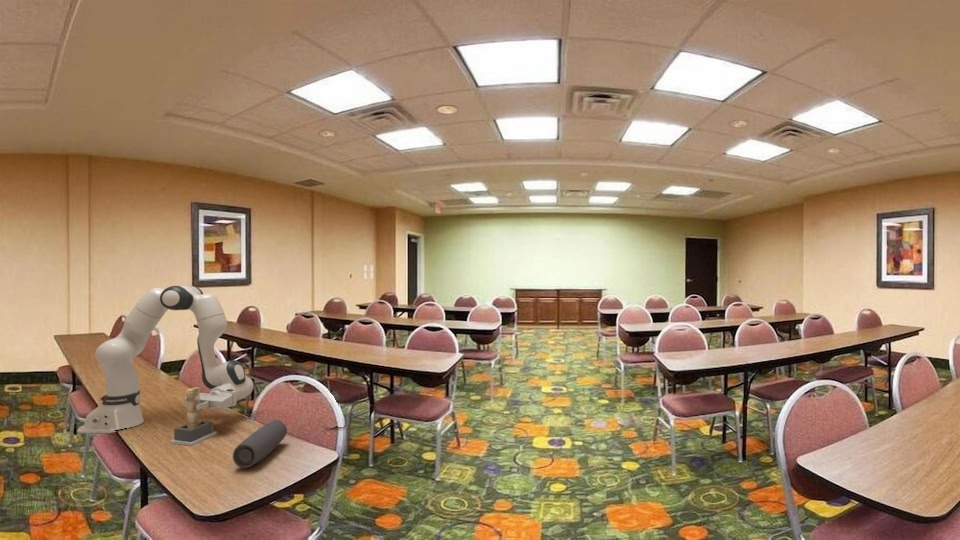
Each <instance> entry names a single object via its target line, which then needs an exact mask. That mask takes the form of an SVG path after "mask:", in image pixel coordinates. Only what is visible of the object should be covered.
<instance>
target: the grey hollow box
mask: <svg viewBox="0 0 960 540" xmlns="http://www.w3.org/2000/svg"><path fill="white" fill-rule="evenodd" d="M213 427H214V425H213V421H212V420H211V421H210V420H202V419H201V425H200V426H198V427H195V428H193V429H187V423H185V424H182V425H180V426H177V427H175V428H174V429H173V436H174V438H173V439H171V440H169V443H170V444H173V445H180V446H181V445H182V446H187V447H188V446H189V447H192V446H194V445H197V444H199V443H200V442H203V441H206V440H207V439H209V438H212V437H214V436H216V435H217V434H218V431H214V428H213Z"/></svg>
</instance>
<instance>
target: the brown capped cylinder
mask: <svg viewBox="0 0 960 540" xmlns="http://www.w3.org/2000/svg"><path fill="white" fill-rule="evenodd" d="M330 387H331V386H330V381H329V380H327V388H328V391H330V393H331V394H332V395H333V396H334V398H335V400H336V402H337V403H338V406H339V404H340V400H341V399H340V396H339V395H340V394H339V393H337V391H334V390H331V389H330Z"/></svg>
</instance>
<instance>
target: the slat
mask: <svg viewBox="0 0 960 540" xmlns="http://www.w3.org/2000/svg"><path fill="white" fill-rule="evenodd" d="M185 393H186V394H185V395H186V396H185V397H186V400H187V408H186V424H187V429H193V428H195V427H198V426H200V425H201V420H202V417H201V416H202V414H201V413H202V412H201V409H202V408H201V409H198V410H197V409H194V405H196V404H200V393H201V388H200V387H197V386H195V387H191V388H188V389H186V391H185Z"/></svg>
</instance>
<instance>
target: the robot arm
mask: <svg viewBox="0 0 960 540" xmlns="http://www.w3.org/2000/svg"><path fill="white" fill-rule="evenodd" d="M168 310H170V311H188V310H189V311H191V312H192V313H193V315H194V317H195V320H196V324H197V328H198V336H197V338H196V339H197V342H196V343H197V348H198V349H197V350H198V355H199V359H200V364H201V366H200V367H201V379H202V383H203V385H204V386H205V387H207V388H208V389H210V391H209V392H208V393H207V392H200V404H196V405H194V409H197V410H198V409H206V408H207V409H214V410H224V409H228V408H231V407H236V406H237V402H238V401H241V400H242V399H245V398H247V397H248V396H249V395H250V394H251V393H252V392H253V391H254V382H253V380H252V379H251V378H249V376H247V374H246V371H245V368H244V365H243V364H242V363H241V362H240V361H238V360H234V359H231V360H228V361H226V362H223V363H220V364H218V363H217V357H216V352H215V345H216V342H217V341H218V339H219V338H221V336H222V335H223V334H224V333H225V331H226V329H227V327H228V320H227V318H226V315H225V312H224V309H223V306H222V305H221V303H220V301H219V299H218V297H217V296H216V295H214V294H213V293H204V292H203V291H202V289H200V288H199V287H197V286H195V285H188V284H182V285H181V284H180V285H171V286H168V287H166V288H162V287H154V288H153V287H152V288H151V289H149V290H148V291H147V292H146V293H145V294H144V295H142V296H141V298H140V299H139V300H138V301H137V303H136V304H135V306H134V307H133V308H132V309H131V311H130V312H129V313H128V315H127V317H126V318H125V319H124V321H123V327H122V329H121V331H120V332H119V334H118V335H117V336H116V337H114V338H113V337H112V338H111V339H108V340H105V341H104V342H103V343H101V344H100V345H99V346H97V347H96V349H95V352H94V358H95V360H96V362H98V363H99V364H100V365H101V368H102V370H103V373H104V376H105V388H106V389H105V391H106V392H105V395H103V396H101V397H100V398H99V400H98V401H99V402H101V404H100V405H98V406H97V407H96V408H94V409H93V410H92V411H90V412H89V413H88V414H87V415H86V417H85V420H84V424H83V425H81V426H80V427H78V428H77V432H76V433H78V434H112V433H116V432H117V431H115V430H117V429H123V430H125V429H124V428H127V429H131V428H134V427H136V426H137V427H138V426H139V425H141V424H143V423H144V422H145V420H144V417H143V413H142V409H141V405H140V403H141V391H140V389H139V386H140V383H139V372H138V371H137V370H136V369H135V366H134V362H133V359H134V358H135V357H137V356H139V355H140V354H141V353H142V352H143V351H144V349H145V348H146V344H147V342H148V340H149V338H150V336H151V334H152V332H153V330H155V328H156V326H157V325H158V323H159V322H160V321H161V319H162V318H163V317H164V315H165V314H166V312H168ZM183 405H184V406H185V408H186V409H187V400H186V396H185V397H184V398H183ZM130 427H131V428H130Z"/></svg>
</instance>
